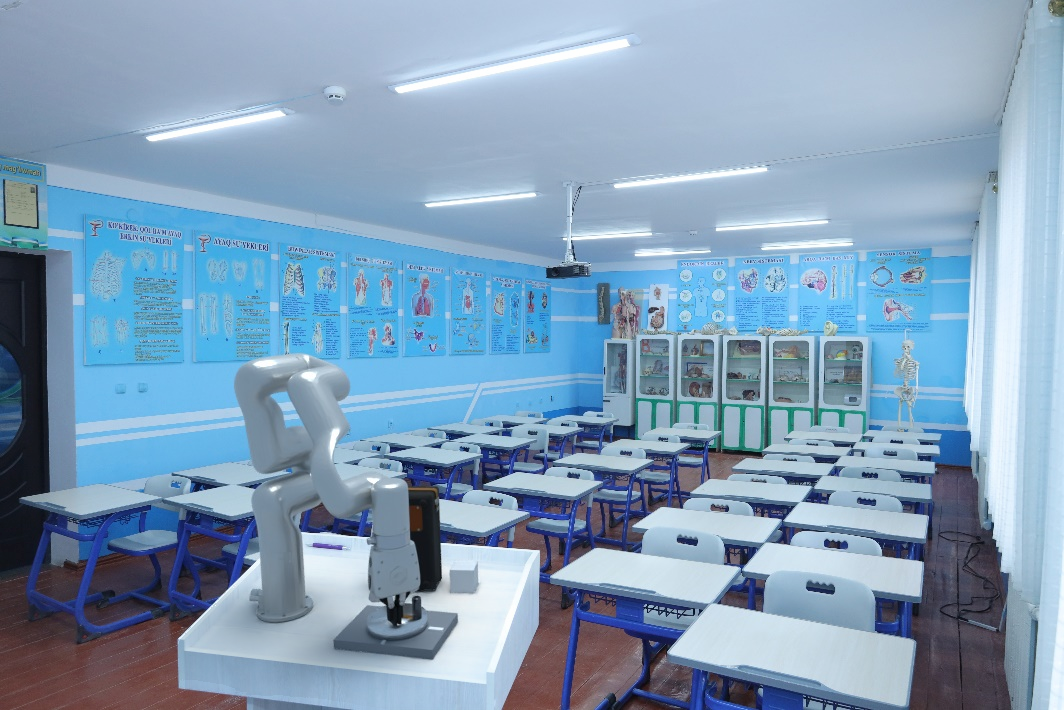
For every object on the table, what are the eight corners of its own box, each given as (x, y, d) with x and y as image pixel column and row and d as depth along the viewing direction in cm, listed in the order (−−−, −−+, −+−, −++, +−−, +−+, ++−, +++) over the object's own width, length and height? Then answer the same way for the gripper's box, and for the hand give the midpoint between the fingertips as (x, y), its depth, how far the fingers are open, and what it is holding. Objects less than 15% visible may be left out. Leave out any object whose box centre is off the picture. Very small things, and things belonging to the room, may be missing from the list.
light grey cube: (455, 582, 181) (454, 560, 180) (478, 583, 180) (477, 560, 179) (450, 593, 175) (449, 569, 174) (474, 593, 174) (473, 570, 173)
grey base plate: (333, 648, 149) (333, 638, 149) (367, 613, 165) (367, 603, 165) (432, 659, 145) (432, 648, 144) (457, 621, 160) (457, 611, 160)
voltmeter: (444, 578, 183) (441, 484, 180) (436, 593, 174) (433, 494, 172) (385, 577, 185) (381, 483, 182) (374, 592, 176) (370, 494, 173)
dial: (357, 638, 149) (355, 609, 148) (379, 609, 162) (378, 582, 161) (417, 641, 147) (416, 612, 146) (434, 612, 160) (433, 585, 159)
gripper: (363, 552, 141) (367, 640, 143) (432, 536, 149) (435, 619, 151) (350, 541, 147) (354, 625, 149) (417, 526, 155) (420, 606, 157)
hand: (395, 622), depth 150 cm, fingers closed
